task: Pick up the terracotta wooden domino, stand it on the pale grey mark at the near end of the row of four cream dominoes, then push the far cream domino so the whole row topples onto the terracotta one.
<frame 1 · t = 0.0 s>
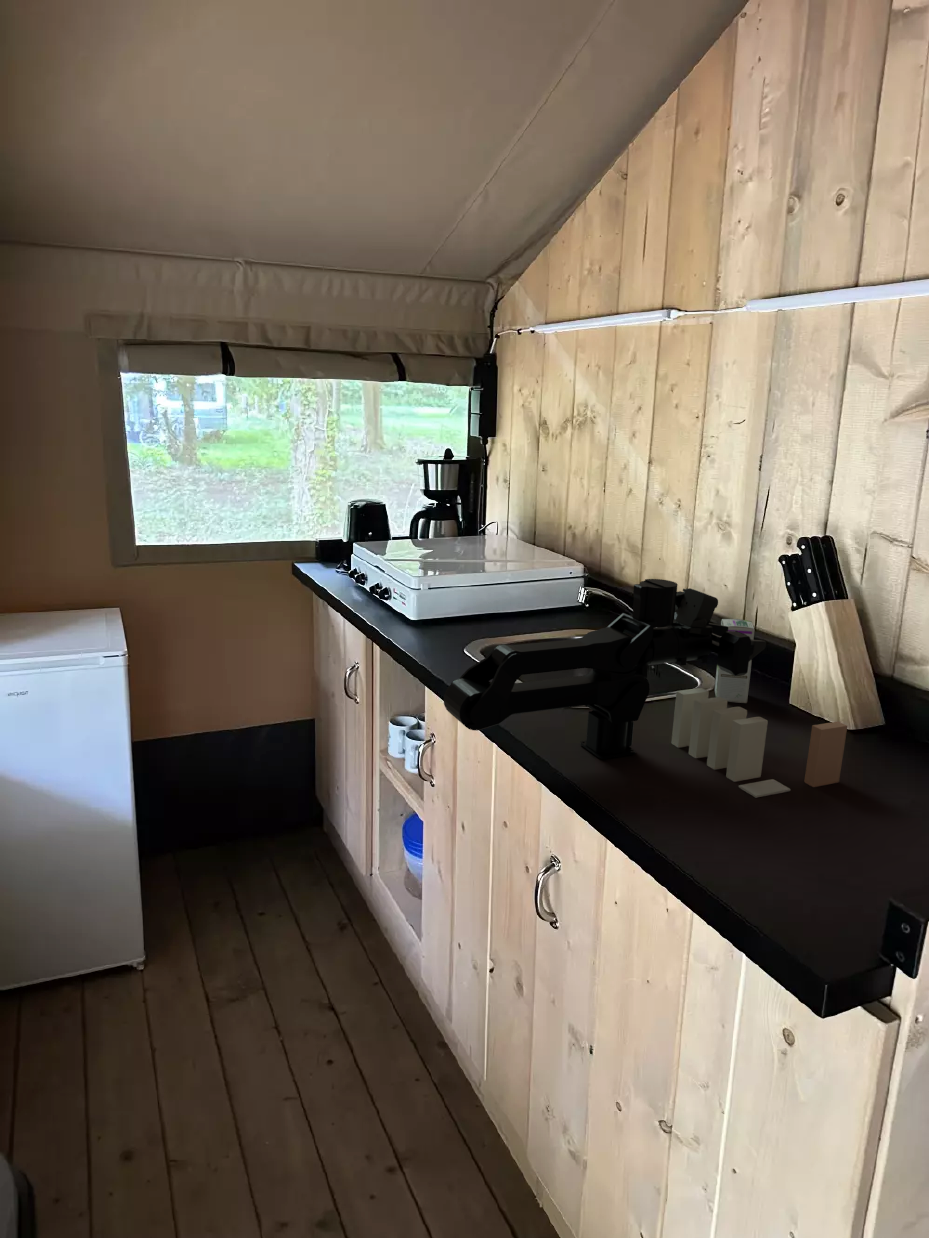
hand: (745, 636, 150), 17 cm above the countertop, tool horizontal, fingers open, 9 cm apart
domino 3: (723, 765, 140), on the countertop
domino 2: (704, 754, 144), on the countertop
domino 1: (687, 743, 148), on the countertop
syrup box: (729, 698, 170), on the countertop
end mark: (764, 789, 132), on the countertop
domino 4: (743, 776, 136), on the countertop
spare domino: (821, 782, 135), on the countertop
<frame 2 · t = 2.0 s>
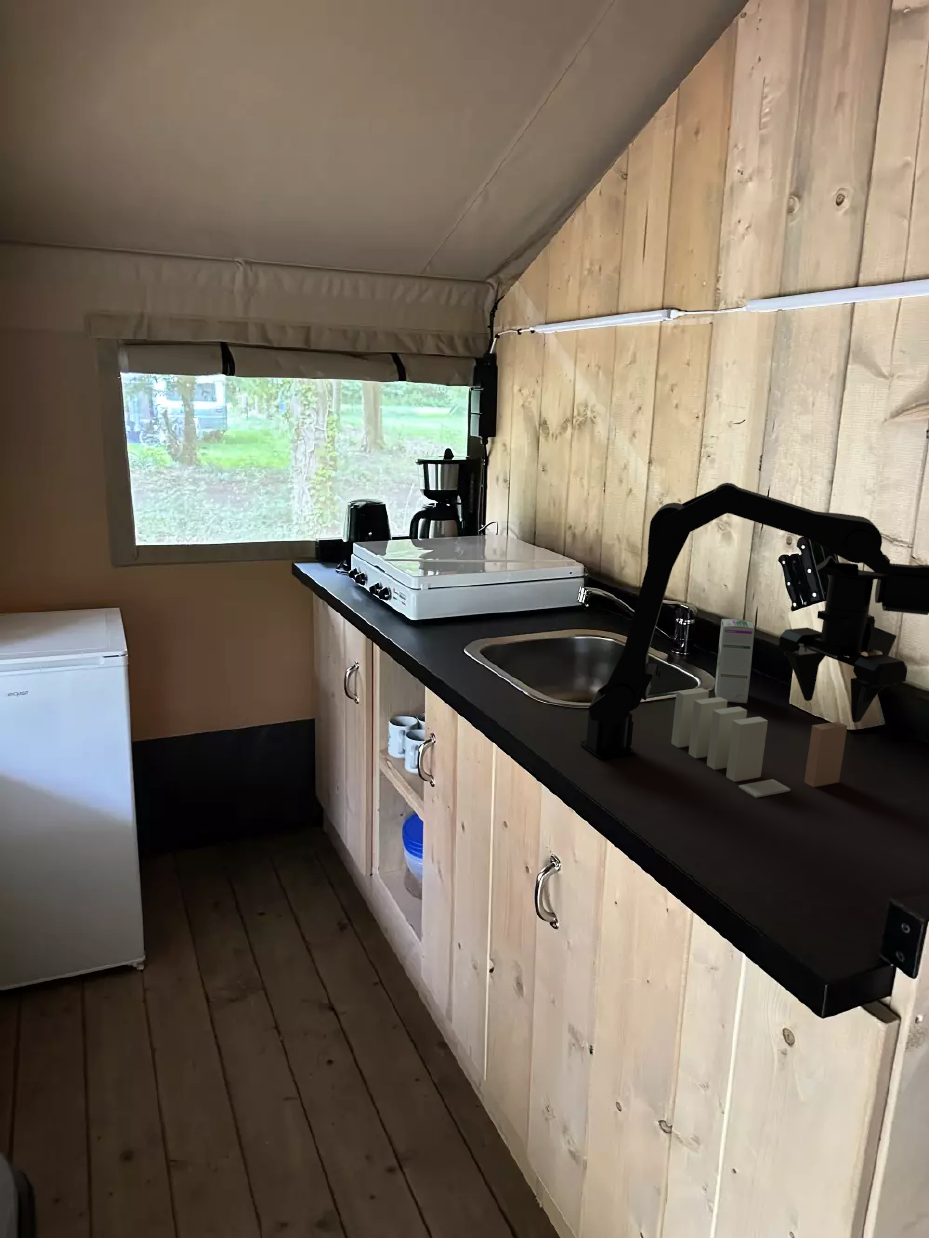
hand: (831, 710, 132), 11 cm above the countertop, tool pointing down, fingers open, 9 cm apart
nothing on the countertop moved.
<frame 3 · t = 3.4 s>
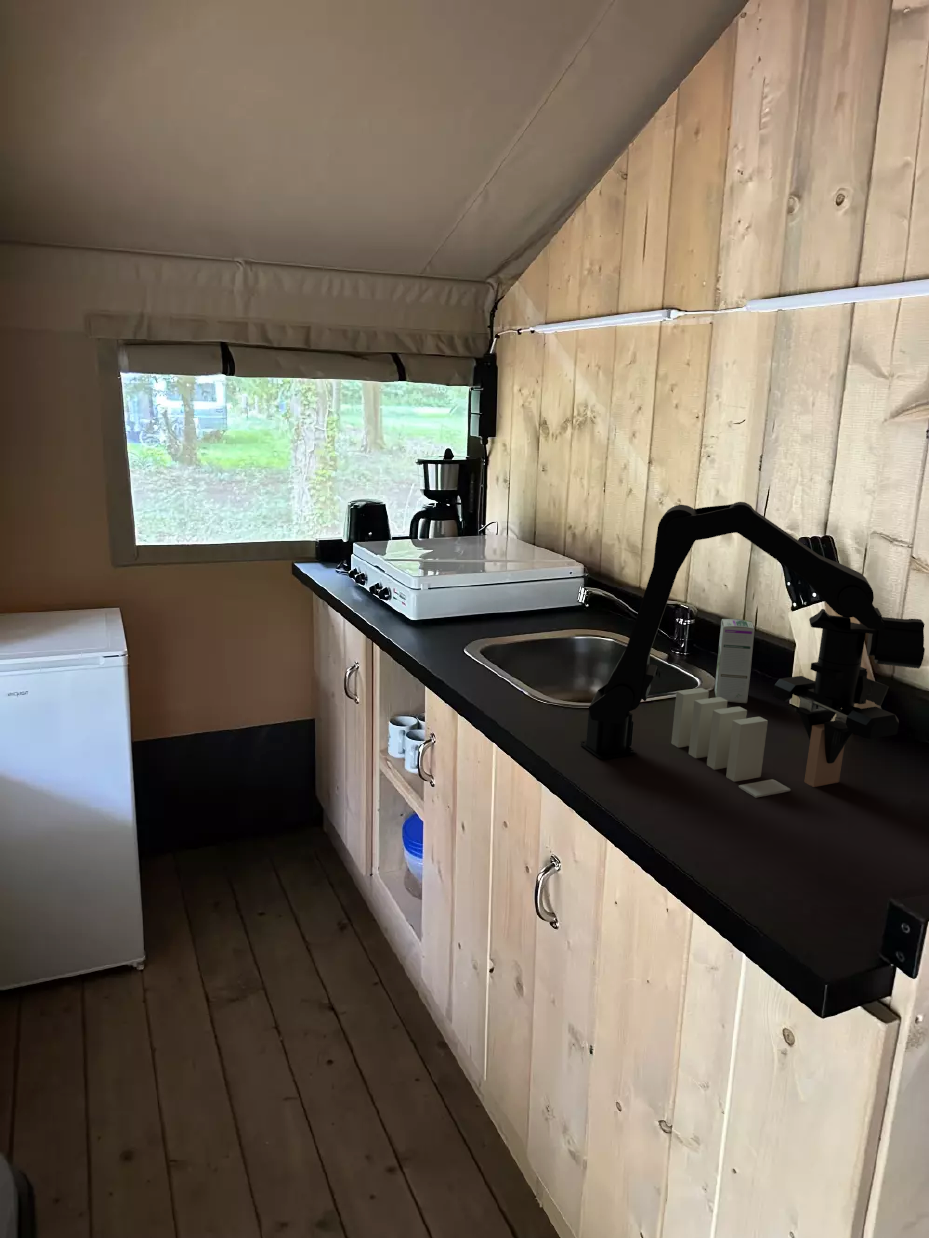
hand: (824, 760, 134), 4 cm above the countertop, tool pointing down, fingers closed on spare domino, 2 cm apart
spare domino: (821, 782, 135), on the countertop, touching gripper
everything else where it was.
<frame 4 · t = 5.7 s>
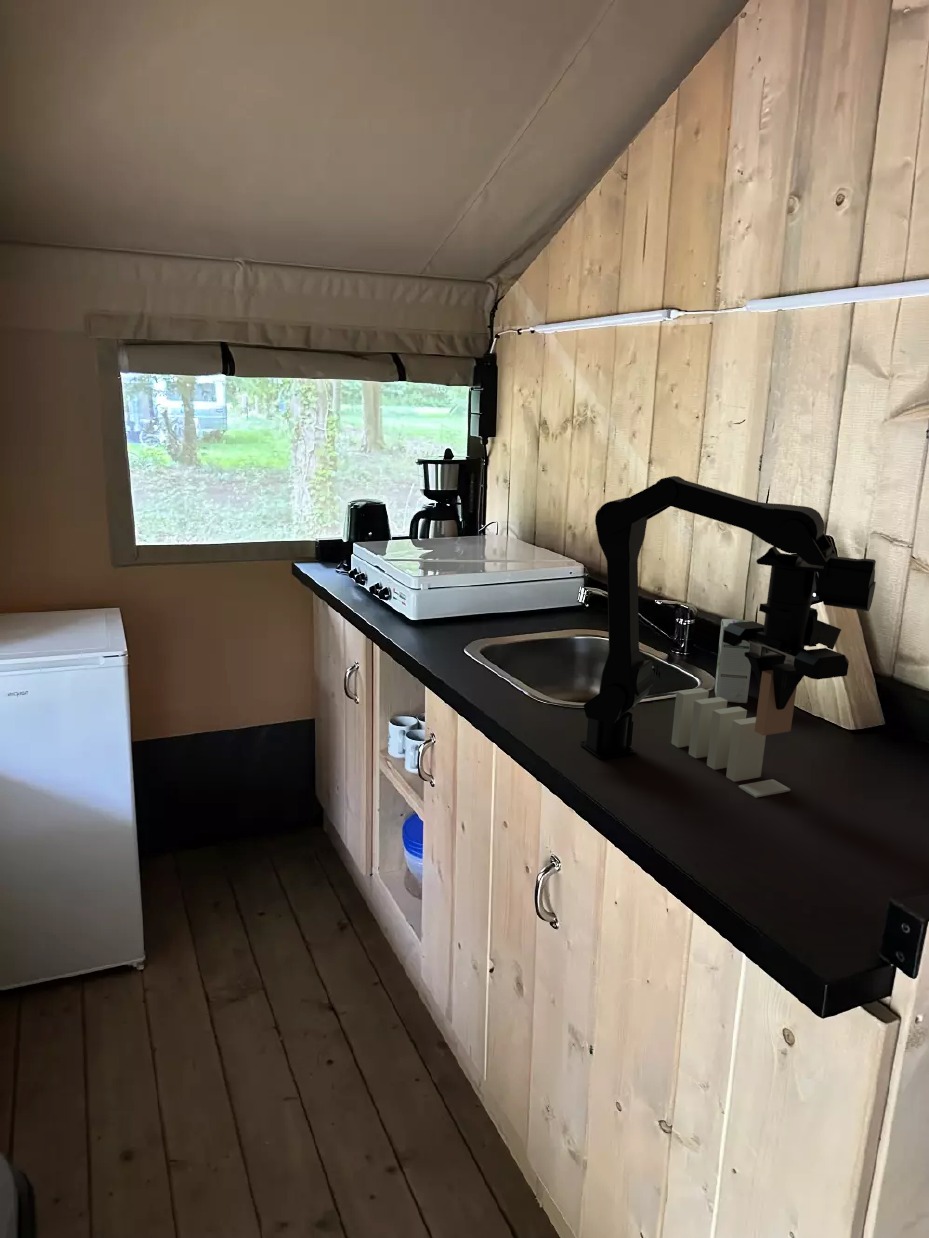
hand: (774, 706, 128), 13 cm above the countertop, tool pointing down, fingers closed on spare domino
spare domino: (772, 731, 130), point 9 cm above the countertop, touching gripper
everything else where it was.
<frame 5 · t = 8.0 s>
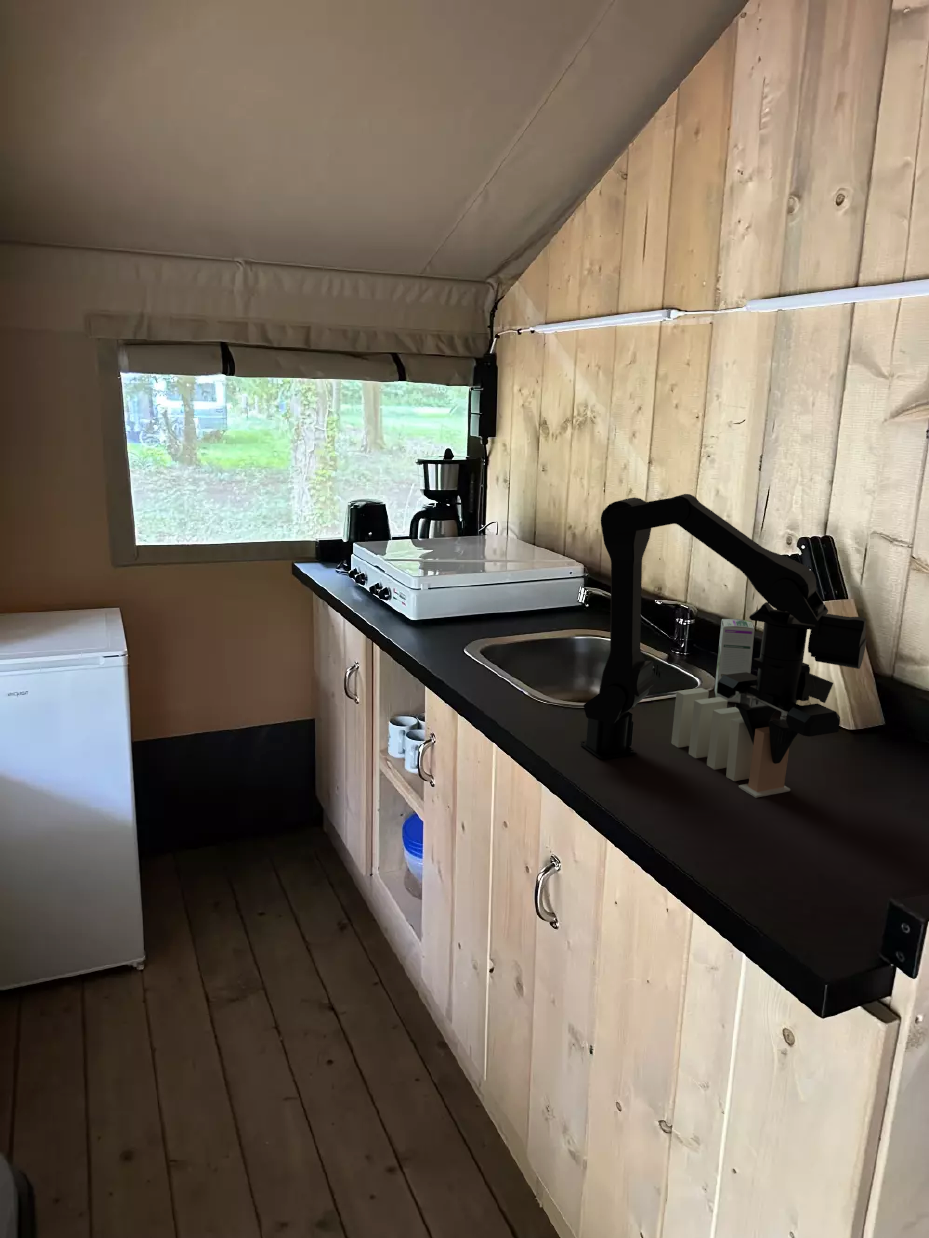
hand: (768, 758, 130), 5 cm above the countertop, tool pointing down, fingers open, 3 cm apart
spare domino: (766, 786, 132), resting on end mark
everything else where it was.
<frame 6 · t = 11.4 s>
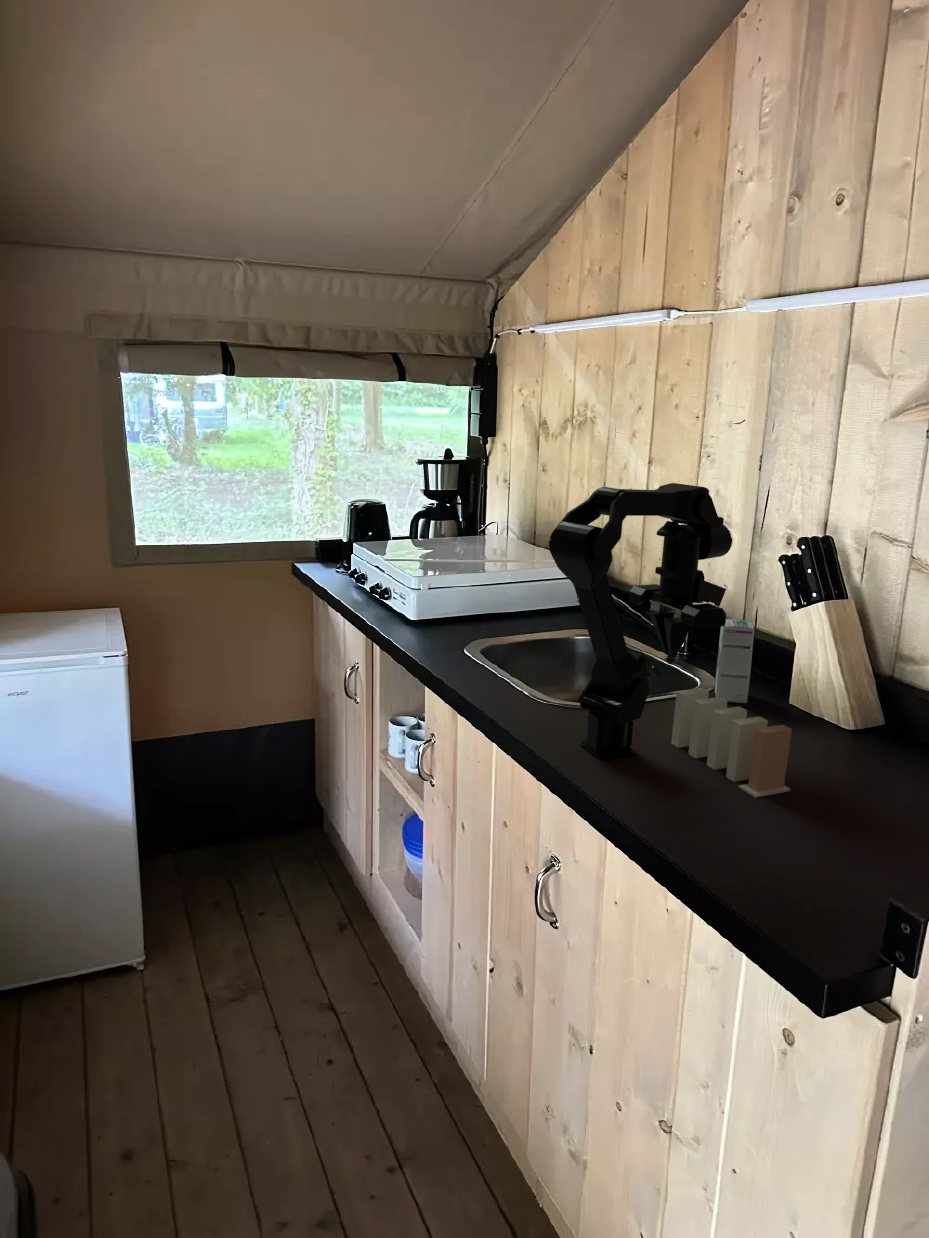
hand: (670, 655, 150), 13 cm above the countertop, tool pointing down, fingers closed
nothing on the countertop moved.
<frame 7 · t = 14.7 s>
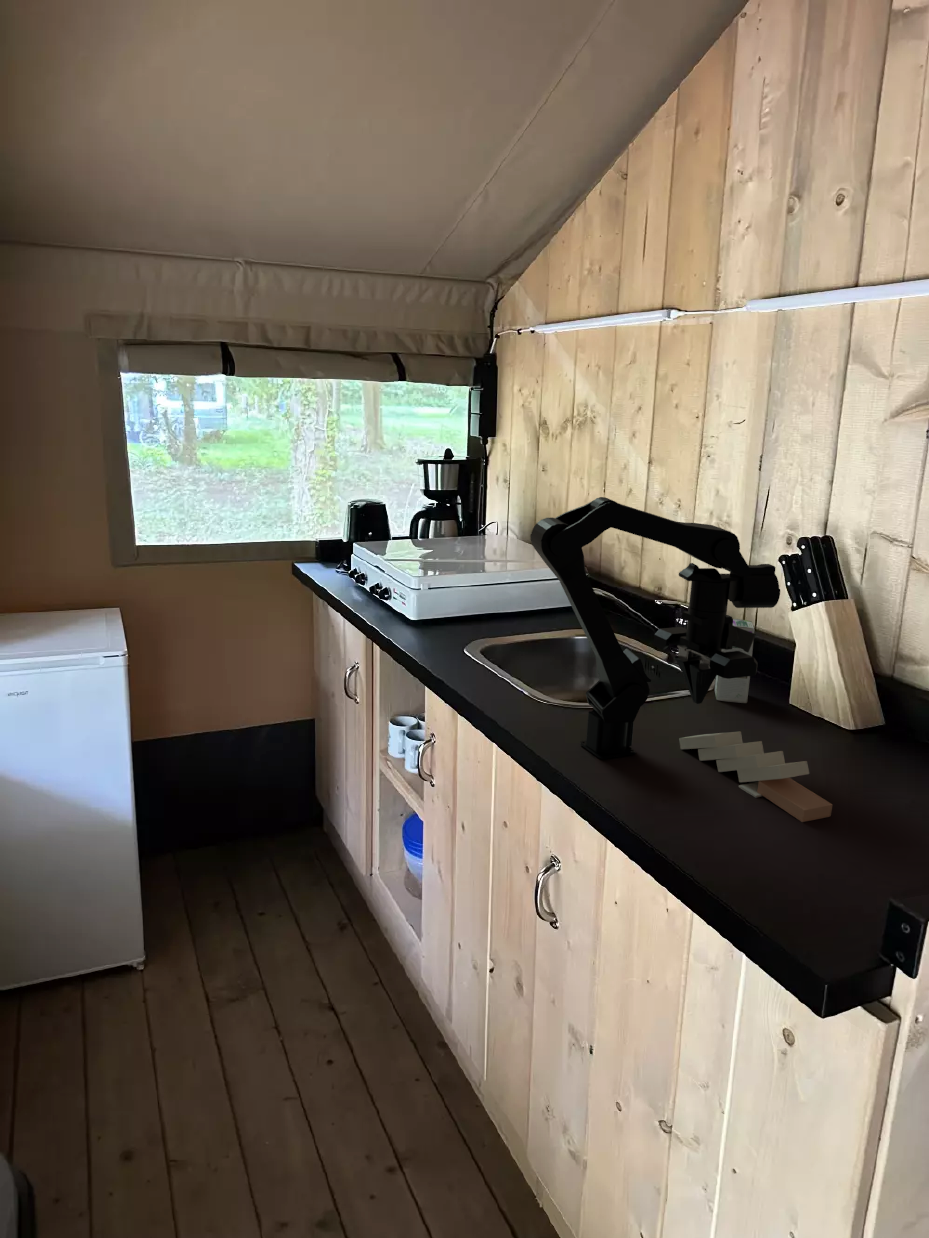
hand: (697, 702, 144), 7 cm above the countertop, tool pointing down, fingers closed
domino 3: (730, 763, 138), point 1 cm above the countertop, tilted 63°, touching domino 2, domino 4
domino 2: (711, 752, 142), point 1 cm above the countertop, tilted 64°, touching domino 1, domino 3
domino 1: (692, 741, 146), point 1 cm above the countertop, tilted 66°, touching domino 2
domino 4: (751, 773, 134), point 1 cm above the countertop, tilted 63°, touching domino 3, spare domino
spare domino: (771, 783, 131), point 1 cm above the countertop, tilted 92°, touching domino 4, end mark
everything else where it was.
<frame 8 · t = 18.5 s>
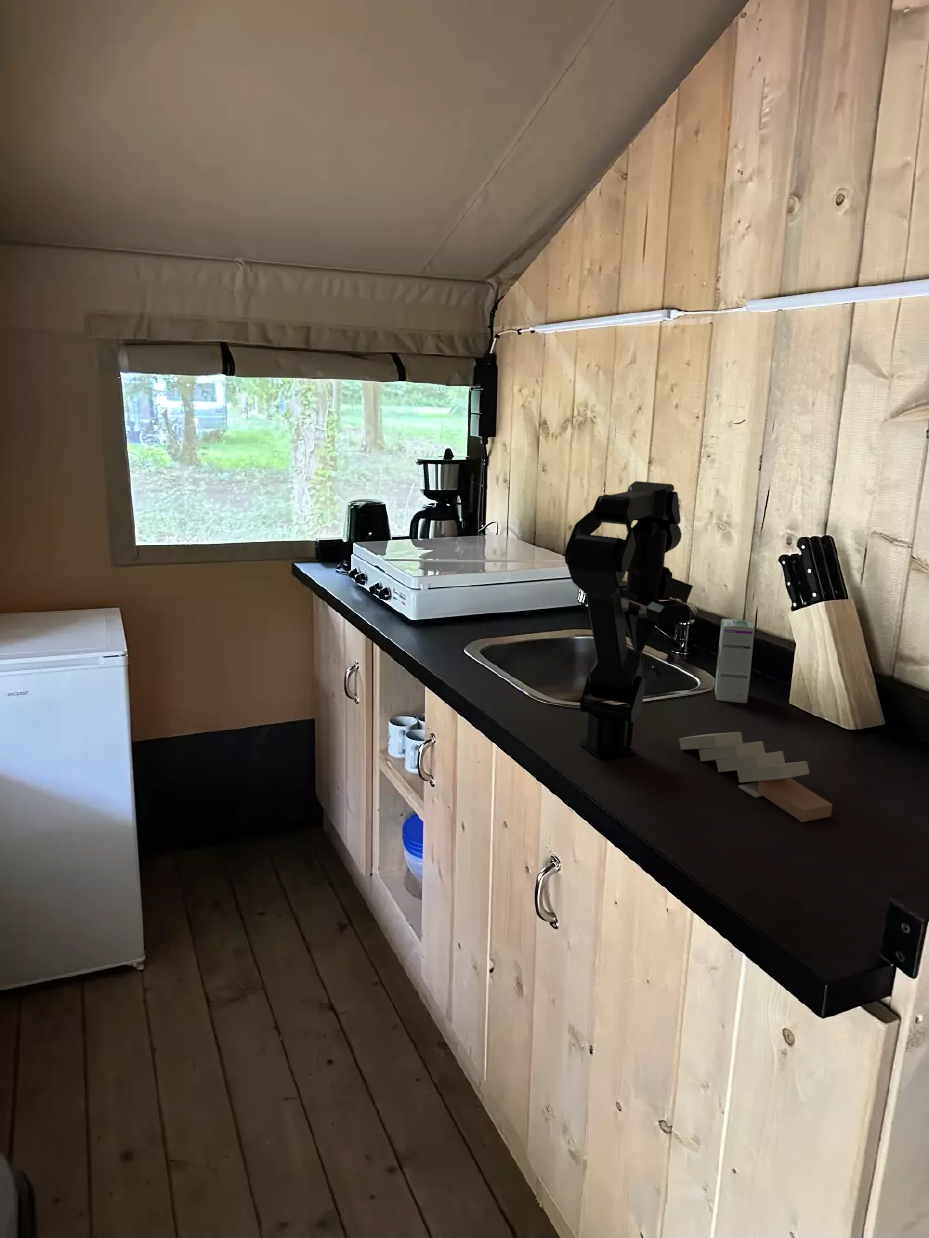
hand: (638, 651, 151), 13 cm above the countertop, tool pointing down, fingers closed
nothing on the countertop moved.
at the end: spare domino tilted 92°; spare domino inside the target area (0.6 cm from its centre), point 1.2 cm above the countertop; domino 3 tilted 63° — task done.
